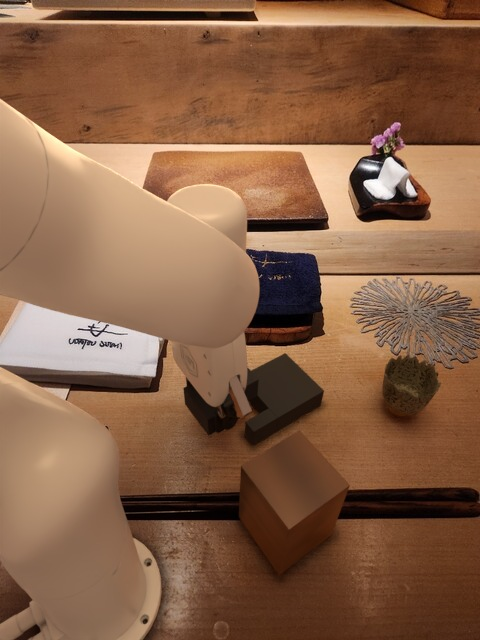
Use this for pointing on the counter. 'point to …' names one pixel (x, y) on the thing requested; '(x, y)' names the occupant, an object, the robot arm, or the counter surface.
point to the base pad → (280, 397)
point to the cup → (408, 385)
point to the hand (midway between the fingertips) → (212, 407)
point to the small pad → (206, 411)
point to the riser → (290, 500)
